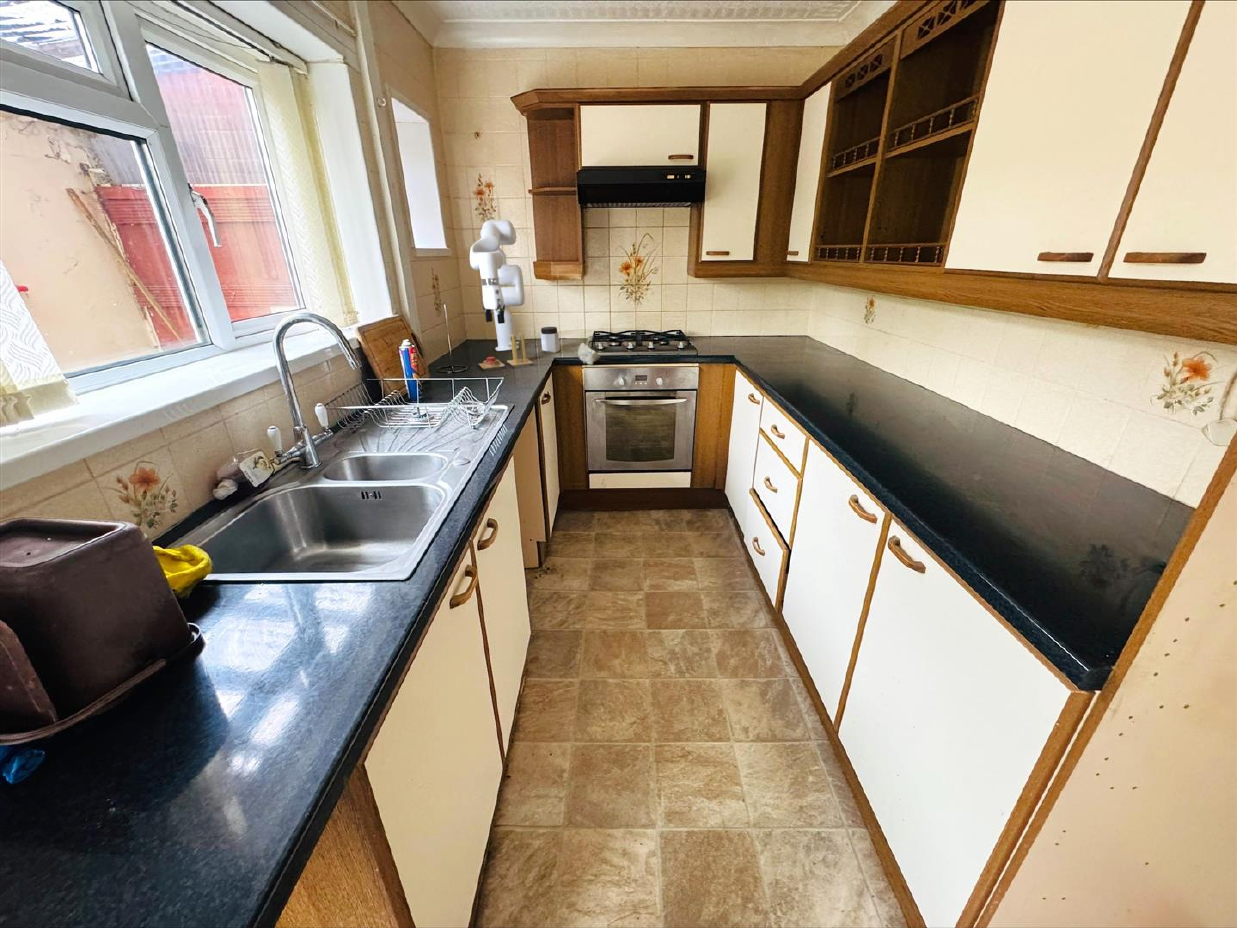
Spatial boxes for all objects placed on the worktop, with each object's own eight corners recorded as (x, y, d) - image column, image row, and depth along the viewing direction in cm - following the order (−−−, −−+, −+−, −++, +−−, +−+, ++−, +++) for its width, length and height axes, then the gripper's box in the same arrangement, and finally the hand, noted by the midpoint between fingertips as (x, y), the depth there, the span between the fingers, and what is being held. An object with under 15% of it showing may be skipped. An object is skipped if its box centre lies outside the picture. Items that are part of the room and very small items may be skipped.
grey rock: (582, 363, 243) (565, 348, 230) (592, 351, 242) (575, 335, 230) (602, 378, 234) (585, 363, 222) (612, 365, 234) (596, 349, 221)
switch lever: (508, 347, 242) (507, 342, 241) (518, 346, 243) (517, 341, 243) (513, 340, 230) (511, 335, 230) (523, 339, 232) (522, 334, 232)
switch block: (478, 366, 236) (477, 359, 235) (499, 363, 240) (499, 357, 239) (483, 371, 226) (482, 364, 225) (505, 368, 230) (505, 361, 229)
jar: (548, 349, 268) (545, 326, 264) (561, 350, 266) (560, 326, 261) (539, 353, 261) (537, 329, 256) (554, 353, 258) (552, 329, 253)
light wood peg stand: (506, 363, 240) (502, 333, 235) (527, 360, 244) (523, 331, 239) (512, 367, 230) (509, 337, 225) (534, 365, 234) (531, 334, 229)
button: (485, 361, 233) (485, 357, 232) (494, 360, 235) (494, 356, 234) (487, 363, 230) (487, 359, 229) (496, 361, 231) (496, 358, 231)
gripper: (508, 282, 220) (513, 323, 227) (487, 281, 231) (492, 320, 238) (493, 283, 215) (499, 325, 222) (472, 283, 227) (478, 322, 233)
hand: (495, 322), depth 230 cm, fingers open, 9 cm apart
